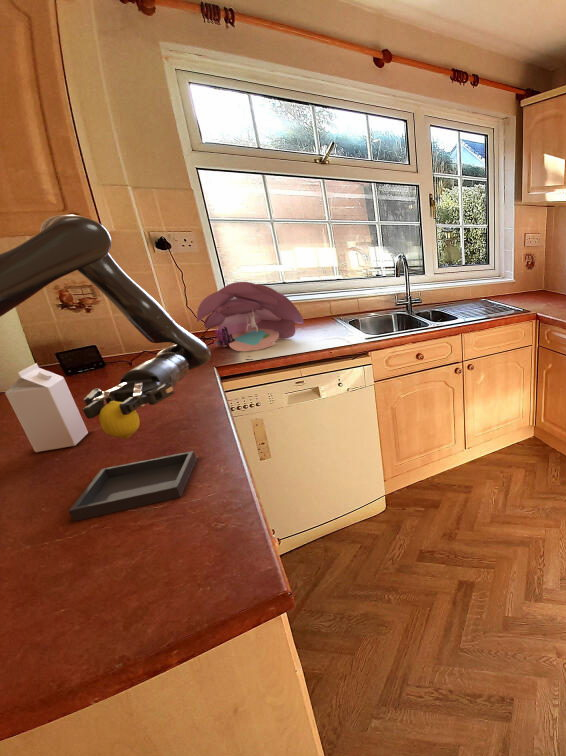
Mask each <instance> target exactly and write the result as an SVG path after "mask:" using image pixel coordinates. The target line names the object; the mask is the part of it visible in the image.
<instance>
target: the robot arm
mask: <svg viewBox="0 0 566 756" xmlns="http://www.w3.org/2000/svg"><path fill="white" fill-rule="evenodd" d="M111 248H112V238H111V235H110V233H109V231H108V230H107V228H105V226H103V224H101V223H99V222H98V221H96V220H94V219H92V218H90V217H86V216H82V215H78V214H77V215H76V214H58V215H54V216H50V217H48V218H46V219H44V221H43V222H42V223H41V225H40V229H39V232H38V233H36V234H35V235H34V236H32V237H30V238H28V239H26V240H25V241H23V242H22V243H21V244H19V245H17V246H15V247H13V248H11V249H9V250H6V251H4V252H1V253H0V318H1V317H3V316H4V315H6V314H7V313H8V312H10V311H12V310H13V309H15V308H16V307H18V306H20V305H21V304H22V303H24V302H26V301H27V300H28V299H30V298H31V297H33V296H34V295H35V294H37V293H38V292H40V291H41V290H43V289H44V288H46V287H48V286H49V285H50V284H51V283H53V282H55V281H57V280H59V279H61V278H63V277H66V276H67V275H69V274H71V273H73V272H76V271H77V272H78V273H80V274H81V275H82V276H83V277H84V278H86V279H87V280H88V281H89V282H90V283H91V284H92V285H93V286H94V287H95V288H96V289H98V290H99V292H101V293H102V295H104V296H105V297H106V298H107V299H108V301H110V302H111V303H112V304H113V305H114V307H115V308H116V309H117V310H118V311H119V313H121V314H122V315H123V316H124V318H125V319H126V320H128V321H129V323H130V324H131V325H132V326H133V327H134V328H135V329H136V330H137V331H138V332H139V333H140V334H141V335H142V336H143V337H144V338H145V339H146V340H147V341H148V342H150V343H152V344H162V343H164V344H165V343H169V344H170V343H171V344H172V345H169V346H167V347H165V348H163V349H161V350H160V351H158V352H157V354H156V355H155V356H154V357H153V358H151V359H149V360H146V361H143V362H142V363H140V364H138V365H137V366H135V367H134V368H132V369H129V371H127V372H126V373H124V374H123V375H122V377H121V379H120V381H119V384H116V386H113V387H111V388H110V389H108V390H104V391H103V390H102V389H101V388H94V389H92V390H91V391H90V392H89V393H88V394H87V395H86V396H85V397H84V398H83V401H84V403H85V406H84V407H83V408H82V412H83V414H84V416H85V418H87V419H94V418H97V416H99V413H100V411H101V409H102V408H103V407H104V406H105V405H107V404H109V403H110V402H111V401H116V402H122V403H121V404H120V405H119V407H120V410H121V412H122V414H123V415H128V414H130V413H131V412H132V411H134V410H137V409H139V408H144V407H145V406H146V405H147V404H148V405H149V406H154V405H157V404H159V403H161V402H162V401H164V400H166V399H167V398H169V397H171V396H172V395H175V391H174V387H175V386H176V385H177V383H178V382H180V381H181V380H182V379H183V378H185V376H186V375H187V374H188V373H189V371H191V370H195V369H196V368H199V367H202V366H204V365H207V364H208V363H209V362H210V361H211V359H212V353H211V350H210V348H209V346H208V345H207V344H206V342H204V341H203V340H202V339H200V338H199V337H197V336H196V335H194V334H193V333H192V332H190V331H189V330H187V329H186V328H184V327H182V326H181V325H180V324H179V323H177V322H176V321H175V320H174V318H173V317H172V316H171V315H170V314H169V313H168V312H167V311H166V309H164V307H163V306H162V305H160V303H159V302H158V301H157V300H156V299H155V298H154V297H152V295H150V294H149V293H148V292H147V291H146V290H145V289H144V288H142V286H140V285H139V284H138V283H136V282H135V281H134V280H133V279H132V278H131V277H130V276H129V275H128V274H127V273H126V272H125V271H124V270H123V269H122V268H121V267H120V266H119V265H118V263H117V262H116V261H115V259H113V257H112V256H111V254H110V250H111ZM105 402H106V404H105Z"/></svg>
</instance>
